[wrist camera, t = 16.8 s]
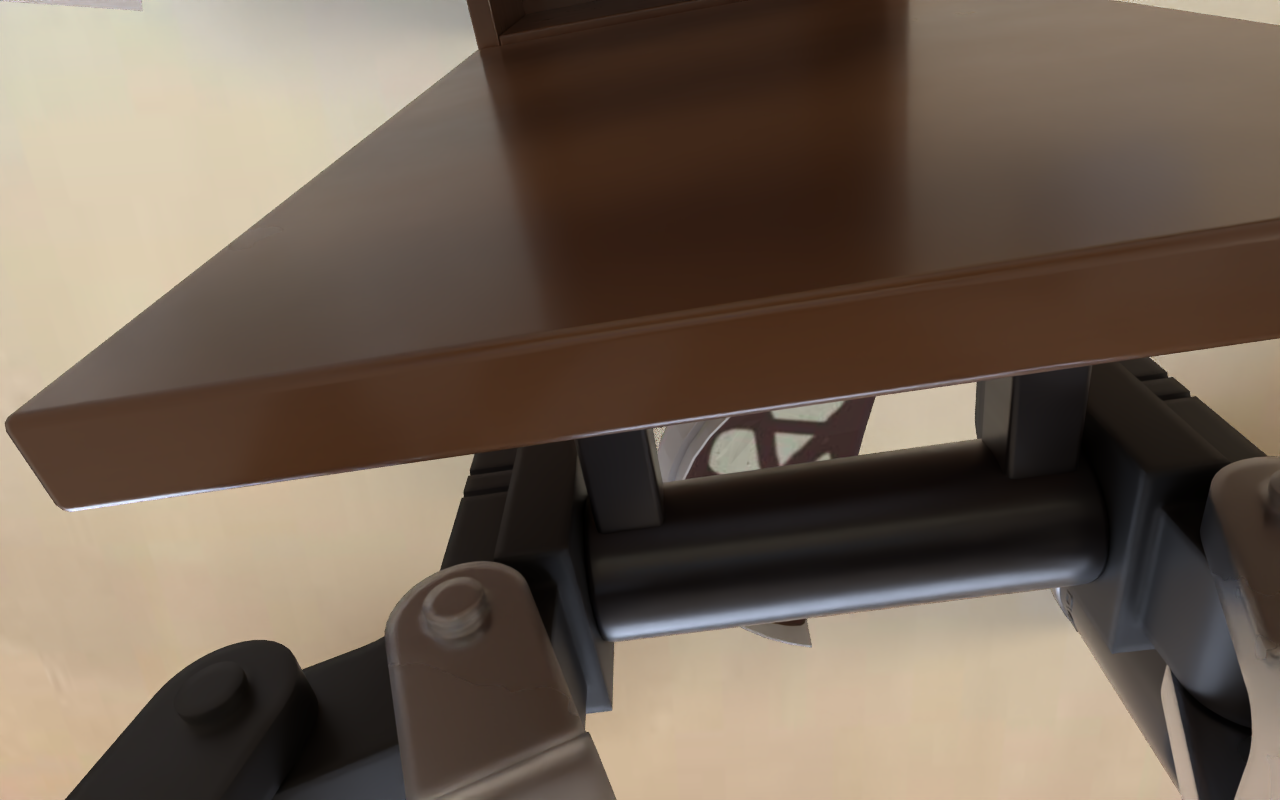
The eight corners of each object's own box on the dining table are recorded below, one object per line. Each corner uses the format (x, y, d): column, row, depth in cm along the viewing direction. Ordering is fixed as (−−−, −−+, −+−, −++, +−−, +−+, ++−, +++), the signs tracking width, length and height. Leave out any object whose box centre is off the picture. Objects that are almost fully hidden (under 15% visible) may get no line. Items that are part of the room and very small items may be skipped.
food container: (671, 205, 30) (686, 317, 21) (833, 224, 30) (911, 342, 22) (632, 473, 36) (632, 643, 27) (767, 486, 36) (808, 658, 28)
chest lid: (-12, 422, 5) (274, 836, 7) (1950, 119, 4) (1580, 697, 7) (474, 50, 21) (517, 222, 23) (915, -31, 20) (914, 155, 22)
